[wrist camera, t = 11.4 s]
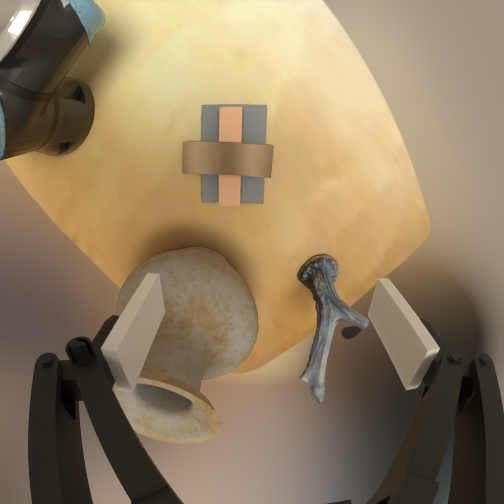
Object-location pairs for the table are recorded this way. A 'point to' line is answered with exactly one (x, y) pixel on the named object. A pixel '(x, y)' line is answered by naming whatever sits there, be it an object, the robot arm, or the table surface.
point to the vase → (188, 343)
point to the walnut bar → (227, 158)
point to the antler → (324, 317)
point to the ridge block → (233, 130)
